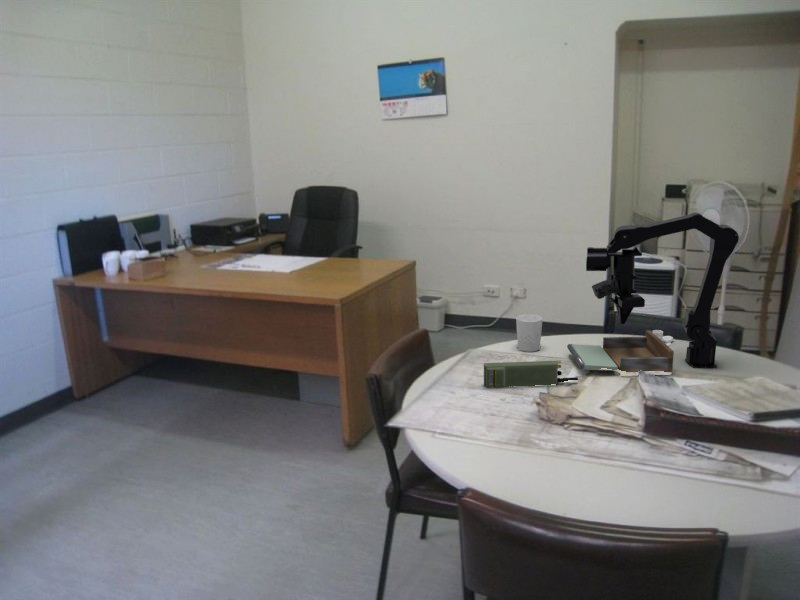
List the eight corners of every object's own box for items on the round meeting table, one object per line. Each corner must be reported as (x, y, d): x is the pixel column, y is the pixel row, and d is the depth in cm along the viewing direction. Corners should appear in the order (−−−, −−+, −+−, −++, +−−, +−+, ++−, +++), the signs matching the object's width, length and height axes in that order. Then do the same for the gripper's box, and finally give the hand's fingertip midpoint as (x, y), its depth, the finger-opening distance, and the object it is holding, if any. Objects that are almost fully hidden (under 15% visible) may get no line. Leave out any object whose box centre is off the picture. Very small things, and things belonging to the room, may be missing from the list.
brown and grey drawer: (648, 352, 187) (649, 330, 186) (671, 375, 169) (673, 351, 167) (602, 353, 188) (603, 331, 186) (621, 376, 170) (622, 352, 168)
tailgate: (600, 345, 187) (567, 343, 187) (617, 366, 170) (580, 364, 170) (599, 350, 187) (566, 348, 188) (617, 371, 170) (580, 369, 170)
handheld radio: (483, 384, 169) (576, 381, 168) (484, 389, 165) (579, 386, 165) (483, 361, 167) (577, 358, 166) (484, 366, 163) (580, 363, 163)
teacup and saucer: (672, 340, 198) (673, 328, 197) (674, 348, 191) (675, 336, 190) (642, 338, 201) (643, 326, 200) (644, 346, 194) (644, 334, 193)
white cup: (543, 352, 191) (544, 321, 188) (518, 353, 191) (518, 321, 188) (538, 344, 198) (539, 314, 196) (514, 344, 199) (514, 314, 196)
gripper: (586, 266, 186) (585, 316, 190) (604, 279, 168) (603, 334, 172) (624, 264, 185) (622, 314, 189) (646, 277, 167) (644, 332, 171)
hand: (622, 323), depth 180 cm, fingers closed
